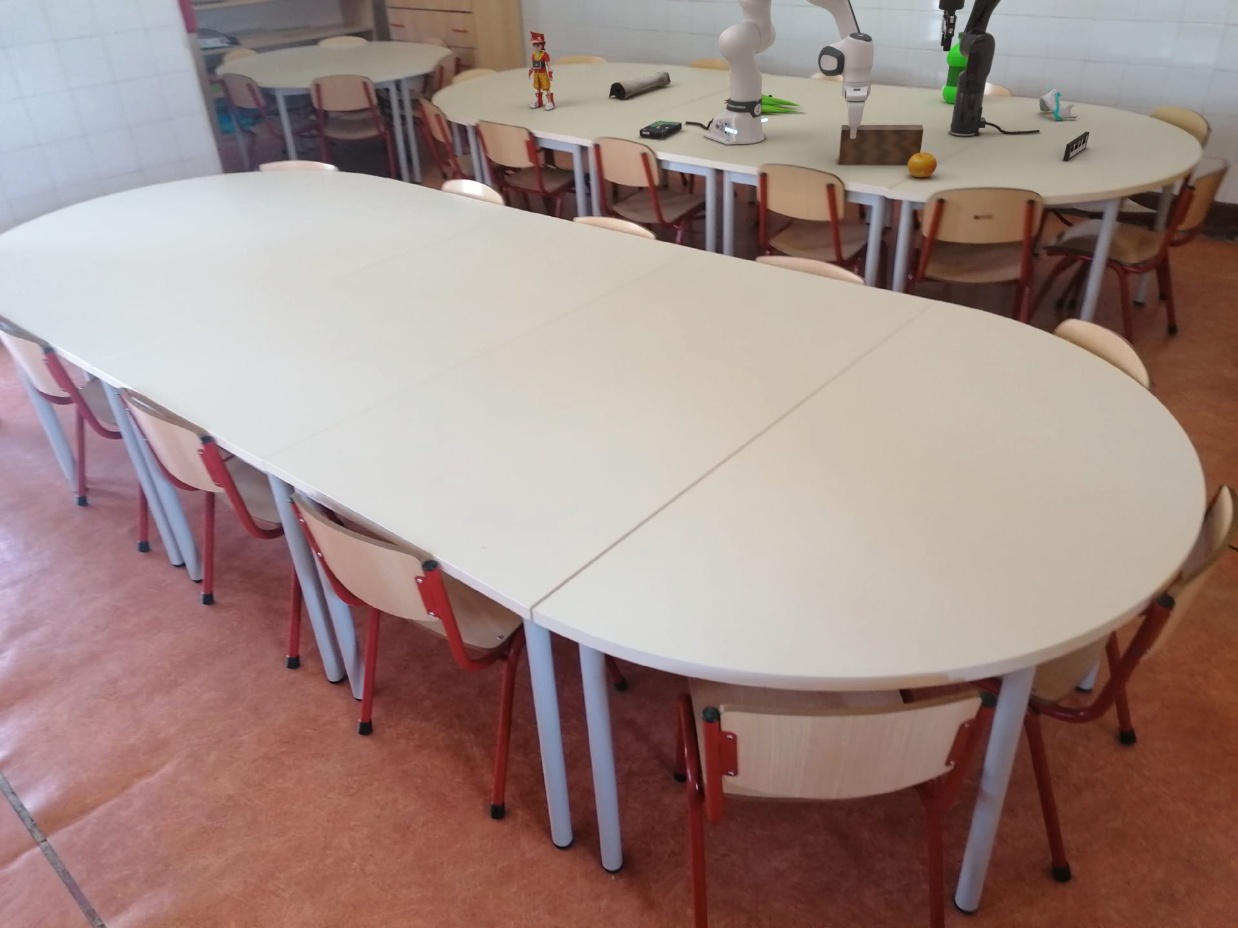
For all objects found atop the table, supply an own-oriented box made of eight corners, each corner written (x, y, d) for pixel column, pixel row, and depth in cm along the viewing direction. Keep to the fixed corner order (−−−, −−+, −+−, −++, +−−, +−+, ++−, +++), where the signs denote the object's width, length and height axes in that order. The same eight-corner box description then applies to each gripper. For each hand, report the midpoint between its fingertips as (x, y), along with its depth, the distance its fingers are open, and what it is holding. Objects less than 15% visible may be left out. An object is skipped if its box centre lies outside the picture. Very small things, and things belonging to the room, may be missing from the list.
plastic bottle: (973, 101, 354) (984, 32, 339) (955, 106, 349) (966, 36, 335) (952, 97, 361) (962, 29, 346) (934, 102, 356) (944, 33, 342)
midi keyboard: (1067, 160, 287) (1070, 145, 284) (1062, 160, 288) (1066, 144, 285) (1086, 147, 297) (1090, 132, 294) (1082, 147, 298) (1085, 131, 295)
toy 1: (525, 109, 381) (517, 32, 364) (534, 104, 388) (527, 28, 371) (550, 110, 377) (543, 32, 360) (559, 105, 384) (553, 28, 367)
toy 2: (719, 111, 356) (789, 123, 343) (720, 98, 353) (791, 109, 341) (748, 101, 376) (815, 112, 364) (750, 88, 374) (817, 99, 361)
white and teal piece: (1033, 88, 332) (1060, 81, 331) (1032, 116, 338) (1059, 109, 337) (1052, 98, 319) (1080, 90, 318) (1051, 127, 325) (1079, 119, 324)
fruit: (901, 167, 279) (918, 144, 275) (903, 170, 286) (919, 147, 283) (924, 183, 277) (941, 160, 274) (925, 185, 285) (941, 162, 282)
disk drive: (663, 140, 332) (682, 129, 342) (663, 132, 330) (682, 122, 340) (639, 137, 336) (658, 127, 346) (638, 130, 335) (658, 119, 345)
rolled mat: (651, 76, 408) (662, 61, 399) (662, 93, 408) (674, 79, 400) (605, 92, 391) (616, 77, 383) (617, 110, 391) (628, 95, 383)
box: (917, 159, 297) (922, 125, 290) (918, 165, 292) (923, 129, 286) (838, 159, 302) (841, 125, 295) (838, 164, 297) (841, 129, 291)
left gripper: (845, 82, 295) (842, 126, 302) (846, 97, 278) (842, 142, 286) (865, 82, 293) (862, 126, 301) (867, 96, 277) (863, 142, 285)
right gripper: (968, -5, 271) (959, 53, 280) (963, -12, 283) (955, 44, 292) (942, -4, 273) (934, 53, 282) (938, -11, 284) (931, 44, 293)
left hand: (852, 134), depth 293 cm, fingers open, 8 cm apart
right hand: (945, 48), depth 287 cm, fingers open, 8 cm apart
